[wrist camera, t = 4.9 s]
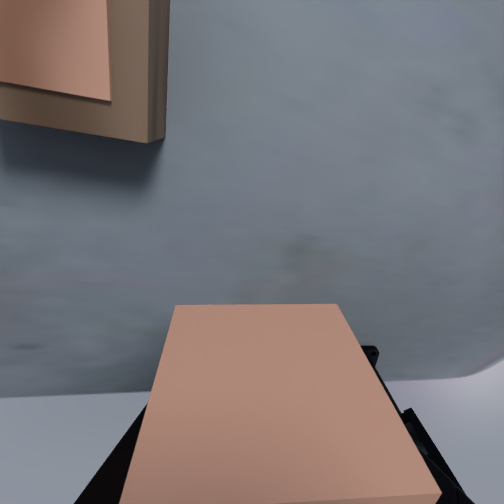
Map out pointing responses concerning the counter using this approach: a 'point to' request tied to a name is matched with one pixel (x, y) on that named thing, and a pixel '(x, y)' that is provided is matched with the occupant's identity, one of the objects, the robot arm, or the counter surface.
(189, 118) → the counter surface
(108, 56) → the oak base block
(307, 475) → the terracotta cube
